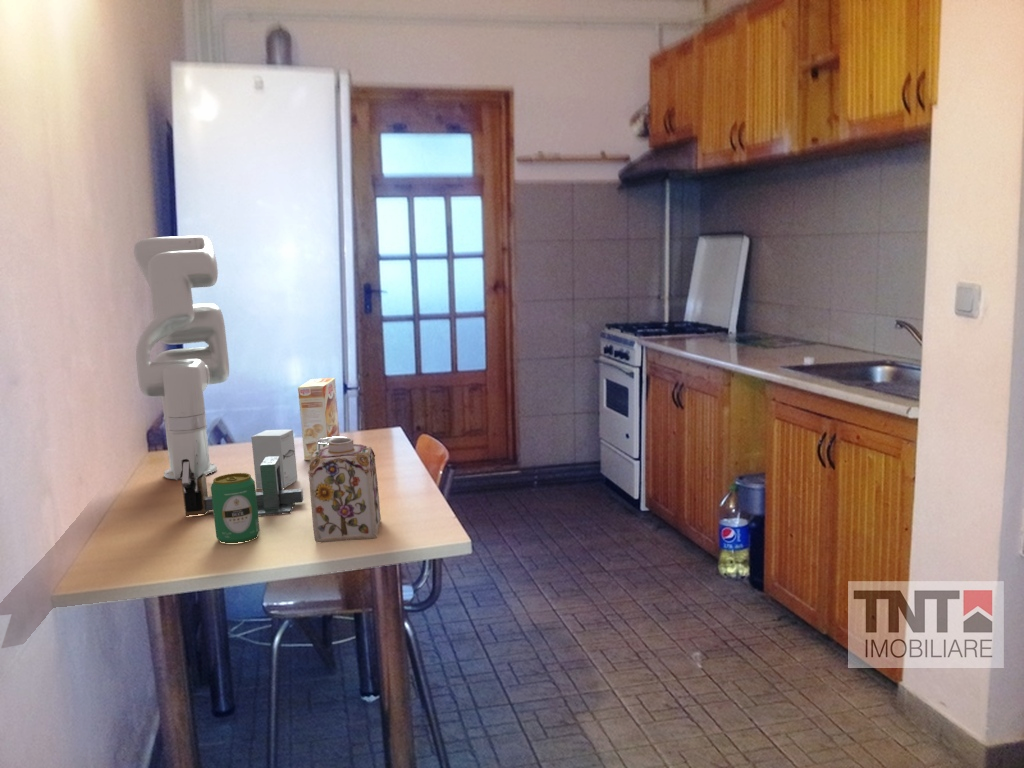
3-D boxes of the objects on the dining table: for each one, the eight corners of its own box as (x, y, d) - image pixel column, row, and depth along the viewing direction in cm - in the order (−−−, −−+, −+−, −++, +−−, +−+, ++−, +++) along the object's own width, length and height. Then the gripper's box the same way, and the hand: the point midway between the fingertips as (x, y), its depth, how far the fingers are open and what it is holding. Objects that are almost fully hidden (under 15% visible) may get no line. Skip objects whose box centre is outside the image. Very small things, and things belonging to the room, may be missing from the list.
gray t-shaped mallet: (190, 511, 190) (186, 475, 189) (304, 501, 193) (300, 466, 192) (185, 517, 186) (181, 480, 185) (302, 507, 189) (298, 470, 188)
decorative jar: (322, 524, 176) (314, 435, 173) (381, 520, 177) (374, 431, 174) (313, 544, 164) (304, 449, 162) (377, 539, 165) (368, 444, 162)
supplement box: (285, 489, 205) (279, 435, 203) (255, 489, 206) (249, 436, 204) (298, 480, 212) (293, 428, 210) (270, 480, 213) (264, 429, 211)
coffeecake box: (330, 459, 232) (323, 385, 229) (303, 460, 232) (296, 387, 229) (342, 446, 246) (335, 377, 243) (316, 447, 247) (310, 378, 244)
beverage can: (218, 548, 165) (212, 485, 163) (214, 536, 172) (208, 476, 171) (263, 540, 168) (256, 479, 166) (257, 529, 176) (250, 470, 174)
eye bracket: (260, 500, 196) (255, 455, 194) (297, 497, 197) (292, 452, 195) (250, 516, 184) (245, 468, 182) (290, 513, 185) (285, 465, 183)
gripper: (178, 417, 193) (188, 498, 196) (157, 432, 177) (168, 521, 180) (214, 414, 194) (223, 495, 197) (196, 429, 178) (206, 517, 181)
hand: (196, 506), depth 188 cm, fingers closed on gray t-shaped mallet, 4 cm apart
